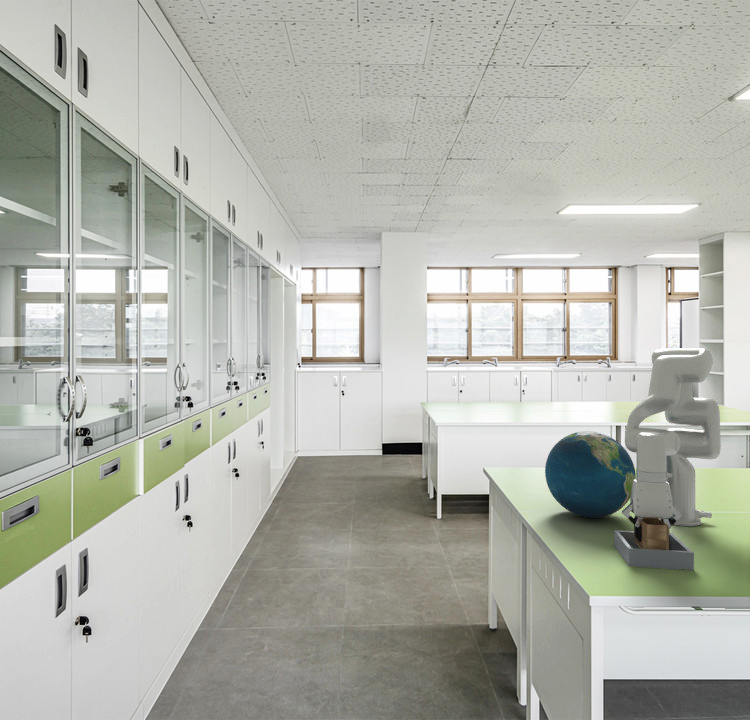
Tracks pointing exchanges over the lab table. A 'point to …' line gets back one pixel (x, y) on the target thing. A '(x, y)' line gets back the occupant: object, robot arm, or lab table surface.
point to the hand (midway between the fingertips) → (651, 540)
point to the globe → (590, 474)
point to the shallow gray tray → (653, 553)
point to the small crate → (654, 534)
